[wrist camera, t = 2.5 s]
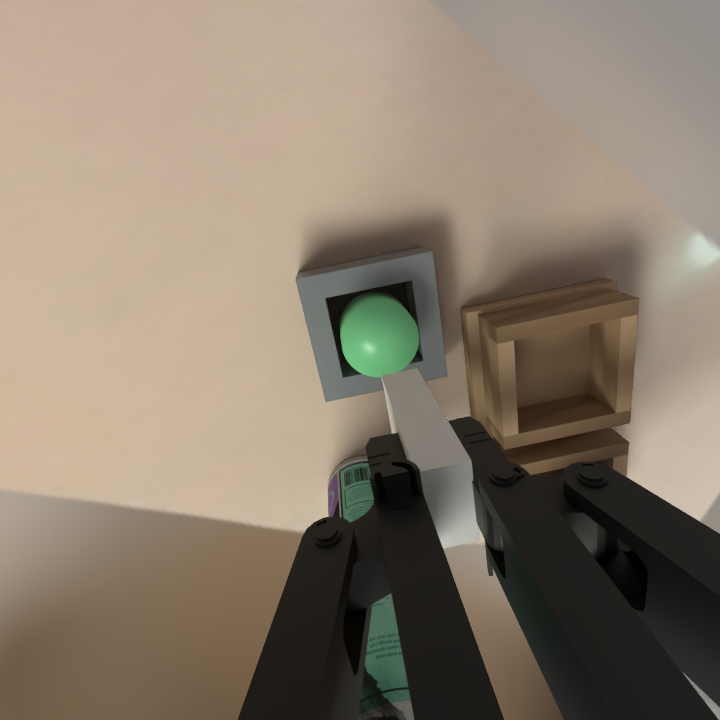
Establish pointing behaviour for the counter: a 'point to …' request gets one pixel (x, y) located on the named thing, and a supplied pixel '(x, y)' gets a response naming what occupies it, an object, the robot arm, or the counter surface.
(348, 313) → the button
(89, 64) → the counter surface
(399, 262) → the gray square frame
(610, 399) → the wooden double crate
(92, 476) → the counter surface
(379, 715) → the spray can
